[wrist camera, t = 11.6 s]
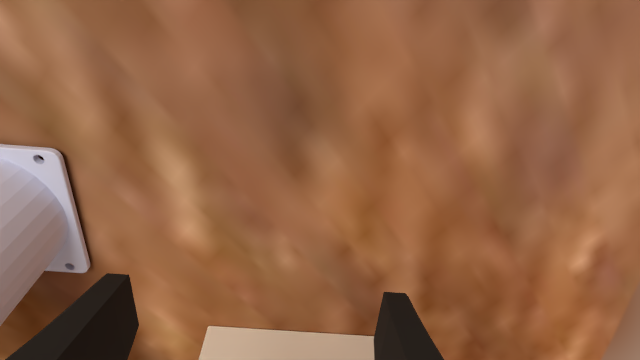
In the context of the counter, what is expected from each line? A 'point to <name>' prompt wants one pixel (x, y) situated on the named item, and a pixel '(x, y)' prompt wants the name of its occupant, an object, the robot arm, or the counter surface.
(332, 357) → the block
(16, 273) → the robot arm
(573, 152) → the counter surface
